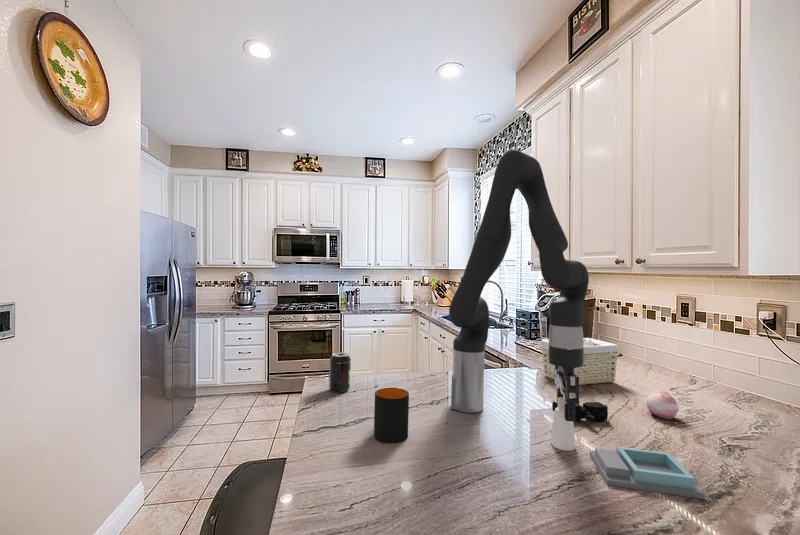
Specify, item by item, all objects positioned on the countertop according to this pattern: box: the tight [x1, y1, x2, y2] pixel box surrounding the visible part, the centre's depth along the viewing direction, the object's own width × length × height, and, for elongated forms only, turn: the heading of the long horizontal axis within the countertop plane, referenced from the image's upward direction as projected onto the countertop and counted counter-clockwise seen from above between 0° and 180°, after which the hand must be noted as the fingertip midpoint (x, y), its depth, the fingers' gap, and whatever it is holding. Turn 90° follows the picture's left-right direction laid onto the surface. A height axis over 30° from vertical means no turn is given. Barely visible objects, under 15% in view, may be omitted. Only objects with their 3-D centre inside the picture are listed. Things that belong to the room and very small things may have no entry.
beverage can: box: [328, 351, 352, 394], centre depth 121 cm, size 7×7×12 cm
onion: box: [645, 391, 679, 420], centre depth 105 cm, size 8×8×7 cm
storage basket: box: [540, 337, 619, 386], centre depth 142 cm, size 24×16×15 cm
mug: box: [373, 387, 410, 445], centre depth 90 cm, size 8×12×10 cm
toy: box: [551, 400, 609, 424], centre depth 101 cm, size 12×5×15 cm
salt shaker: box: [550, 397, 577, 452], centre depth 86 cm, size 5×5×11 cm
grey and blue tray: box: [589, 446, 705, 500], centre depth 74 cm, size 16×12×3 cm
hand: (565, 413), depth 86 cm, fingers open, 8 cm apart
